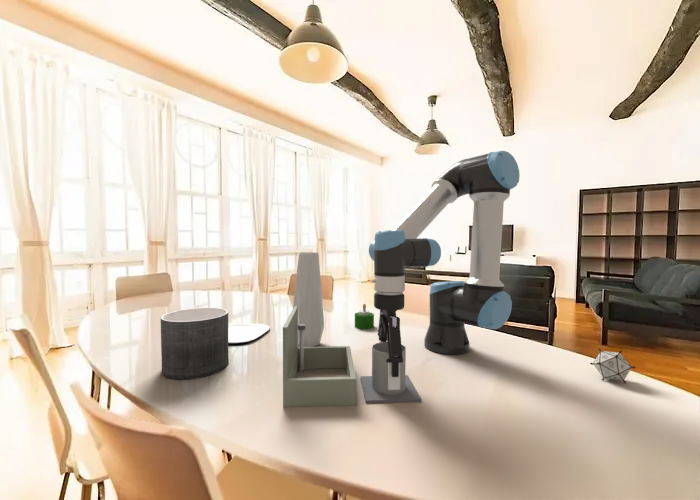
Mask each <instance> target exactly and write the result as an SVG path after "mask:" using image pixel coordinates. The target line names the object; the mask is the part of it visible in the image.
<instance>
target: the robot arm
mask: <svg viewBox="0 0 700 500" xmlns="http://www.w3.org/2000/svg"><path fill="white" fill-rule="evenodd" d="M520 176H521V174H520V169H519V165H518V162H517V160H516V158H515V157H514V156H513V155H512V154H511V153H510V152H508V151H506V150H500V151H490V152H488V153H486V154H480V155H477V156H474V157H473V156H472V157H469V158H464V159H462V160H460V161H459V160H458V161H457V162H455V163H453V164H452V165H451V166H450V167H448V168H447V169H446V170H445V171H443V172H442V173H441V174H440V175H439V176H438V177H437V178H436V179H435V180H434V181H433V182H432V183H431V189H430V190H428V192H427V193H426V194H425V195H423V197H422V198H420V200H419V201H418V202H417V203H416V204H415V205H414V206H413V207H412V208H411V209H410V210H409V211H408V212H407V213H406V214H405V215H404V216H403V217H402V218H401V219H400V220H399V221H398V222H397V223H396V225H394V227H392V229H389V230H387V229H385V230H384V229H383V230H382V229H381V230H378V231H376V232H375V234H374V240H372V241H371V242H370V244H369V246H368V254H369V257H370V259H371V260H372V261H374V262H373V263H374V265H373V267H374V268H373V269H374V270H373V271H374V276H373V277H374V278H372V279H371V283H373V284H374V287H373V288H374V291H375V292H374V294H373V306H374V308H375V309H377V310H379V320H378V329H377V330H378V331H377V336H378V341H379V342H378V343H381V342H387V344H388V352H389V359H387V360H386V362H387V363H388V390H400V363H402V362H403V357H402V346H401V345H402V337H401V318H400V317H399V316H397V312H396V311H401V310H403V309H405V294H404V292H405V291H406V290H405V288H406V286H405V285H406V277H405V276H406V275H405V273H406V268H407V269H408V268H419V267H421V268H423V267H424V268H428V267H432V266H435V265H437V263H439V261H440V260H441V257H442V249H441V246H440V244H439V242H438V241H436V240H435V239H433V238H428V237H426V238H418V237H420V235H421V234H422V233H423V232H424V231H425V230H426V229H427V228H428V226H430V224H431V223H432V222H433V221H434V220H435V219H436V218H437V217H438V215H440V214H441V212H442V211H443V210H444V209H445V208H446V207H447V206H448V204H453V203H454V202H455V201H456V200H457V199H458V198H460V197H463V196H467V195H468V196H469V198H470V200H472V201H473V212H472V213H473V215H472V228H471V229H472V232H471V247H470V248H471V249H470V265H469V277H468V278H467V279H465V280H464V281H462V280H453V281H438V282H434V283H432V284H431V285H430V288H429V289H430V290H429V326H428V328H427V331H426V333H425V336H424V339H423V341H424V347H425V348H426V349H427V350H429V351H432V352H434V353H438V354H444V355H462V354H466V353H468V352H469V351H470V347H471V346H470V344H471V343H470V341H469V337H468V334H467V331H466V327H465V324H469V325H473V326H477V327H480V328H482V329H488V330H497V329H499V328H502V327H503V326H504V325H505V324H506V322H507V321H508V319H509V318H510V315H511V312H512V306H513V301H512V299H511V295H510V294H509V293H507V292H506V291H505V284H504V283H503V282H502V281H501V280H500V272H501V269H500V268H501V254H502V253H501V252H502V237H503V222H504V220H503V219H504V203H505V202H506V200H508V199H509V198H510V193H511V190H513V189H515V187H517V186H518V184H519V182H520ZM394 356H397V357H394Z"/></svg>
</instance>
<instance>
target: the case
mask: <svg viewBox="0 0 700 500" xmlns="http://www.w3.org/2000/svg"><path fill="white" fill-rule="evenodd" d="M305 328H306V324H298V306H294V308H293V307H292V310H291V312H290V314H289V315H288V317H287V318H286V321H285V323H284V325H283V326H282V407H283V408H292V407H293V408H294V407H295V408H297V407H329V406H330V407H331V406H334V407H335V406H356V405H357V378H356V377H357V376H356V372H355V367H354V360H353V355H352V350H351V345H337V346H333V345H331V346H329V345H328V346H327V345H326V346H325V345H324V346H314V347H304V330H305ZM298 330H300V346H298ZM305 369H309V370H310V369H346V370H345V371H346V376H331V377H330V376H327V377H325V376H323V377H320V376H319V377H297V375H298V371H300V372H304V371H305Z"/></svg>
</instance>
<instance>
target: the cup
mask: <svg viewBox="0 0 700 500" xmlns="http://www.w3.org/2000/svg"><path fill="white" fill-rule="evenodd" d="M380 342H381V341H380ZM401 346H402V357H403V362H402V363H400V390H388V363H387V362H386V360H387V359H389V352H388V344H387V342H381V343H379V342H376V343H375V344H373V345H372V347H371V376H372V388H373V389H374V390H375V391H377V392H379V393H382V394H387V395H395V394H399V393H402V392H403V391H404V390H405V375H406V370H407V369H406V368H407V367H406V365H407V363H406V362H407V361H406V354H407V352H406V350H407V349H406V348H407V347H406V345H403V344H401ZM394 357H397V356H394Z"/></svg>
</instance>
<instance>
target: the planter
mask: <svg viewBox="0 0 700 500" xmlns="http://www.w3.org/2000/svg"><path fill="white" fill-rule="evenodd" d="M228 323H229V310H228V309H226V308H220V307H196V308H195V307H194V308H186V309H179V310H175V311H171V312H167V313H165V314H163V315H161V316H160V345H161V347H160V348H161V351H160V352H161V374H162V376H163V377H165V378H167V379H171V380H193V379H199V378H203V377H204V378H205V377H208V376H211V375H213V374H216V373H219V372H220V371H222V370H224V369H225V368H226V367H227V366H228V365H229V363H230V362H229V344H228Z"/></svg>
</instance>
